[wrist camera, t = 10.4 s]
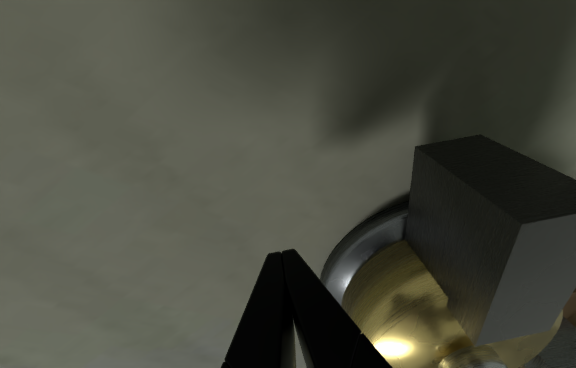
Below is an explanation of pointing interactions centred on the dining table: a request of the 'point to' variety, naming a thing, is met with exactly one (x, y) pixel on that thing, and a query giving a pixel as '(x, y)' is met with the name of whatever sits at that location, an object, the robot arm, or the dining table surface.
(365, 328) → the brass disc with block
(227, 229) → the dining table surface
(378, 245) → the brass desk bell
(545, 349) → the long grey slab
